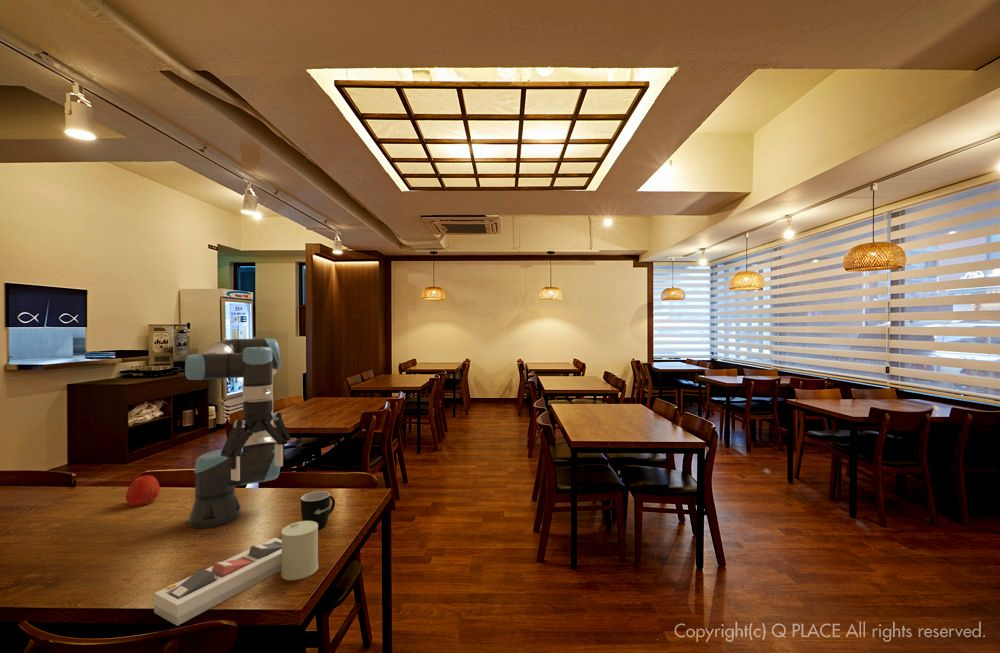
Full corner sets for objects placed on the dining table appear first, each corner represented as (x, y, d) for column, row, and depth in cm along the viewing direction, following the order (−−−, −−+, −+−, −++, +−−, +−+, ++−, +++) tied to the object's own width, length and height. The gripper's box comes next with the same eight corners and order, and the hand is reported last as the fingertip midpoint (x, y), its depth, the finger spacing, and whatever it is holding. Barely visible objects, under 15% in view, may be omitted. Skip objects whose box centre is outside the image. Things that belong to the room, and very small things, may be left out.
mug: (312, 534, 137) (312, 502, 137) (295, 528, 141) (294, 497, 141) (343, 520, 147) (343, 490, 147) (325, 515, 152) (325, 486, 152)
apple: (164, 501, 167) (164, 474, 167) (131, 510, 158) (131, 482, 158) (154, 496, 172) (154, 470, 172) (121, 504, 164) (121, 477, 164)
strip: (177, 625, 94) (177, 603, 94) (154, 612, 99) (154, 591, 99) (321, 548, 128) (321, 531, 128) (298, 541, 133) (298, 525, 133)
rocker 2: (259, 557, 114) (261, 549, 114) (248, 553, 116) (251, 545, 117) (284, 553, 120) (286, 545, 121) (273, 549, 122) (275, 542, 123)
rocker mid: (222, 575, 105) (225, 566, 106) (211, 570, 108) (214, 562, 108) (251, 570, 112) (253, 562, 112) (240, 566, 114) (242, 558, 115)
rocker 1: (181, 605, 97) (178, 598, 97) (171, 599, 100) (168, 593, 99) (215, 578, 104) (212, 572, 103) (204, 574, 106) (201, 567, 106)
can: (306, 558, 122) (306, 516, 123) (325, 568, 117) (325, 523, 117) (274, 573, 115) (274, 528, 115) (292, 584, 109) (292, 537, 110)
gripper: (223, 407, 112) (223, 488, 112) (302, 394, 135) (303, 462, 135) (205, 405, 115) (205, 484, 115) (286, 393, 138) (286, 459, 138)
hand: (258, 472), depth 125 cm, fingers open, 13 cm apart
